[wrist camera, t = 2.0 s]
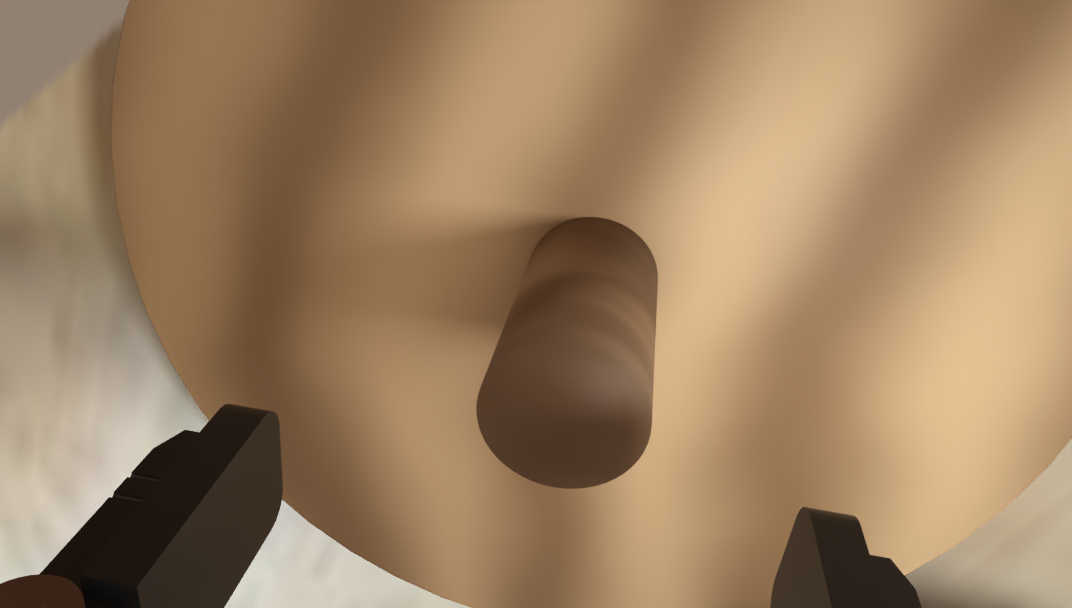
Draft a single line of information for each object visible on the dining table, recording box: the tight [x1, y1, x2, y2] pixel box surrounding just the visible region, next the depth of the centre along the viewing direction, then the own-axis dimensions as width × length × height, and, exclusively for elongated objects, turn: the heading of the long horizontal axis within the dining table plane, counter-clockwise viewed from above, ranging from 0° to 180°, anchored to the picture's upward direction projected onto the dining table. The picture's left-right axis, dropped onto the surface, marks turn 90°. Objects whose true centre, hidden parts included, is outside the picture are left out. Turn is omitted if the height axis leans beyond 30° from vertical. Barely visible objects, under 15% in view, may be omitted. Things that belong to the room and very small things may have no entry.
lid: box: [111, 0, 1072, 608], centre depth 18 cm, size 25×25×7 cm
